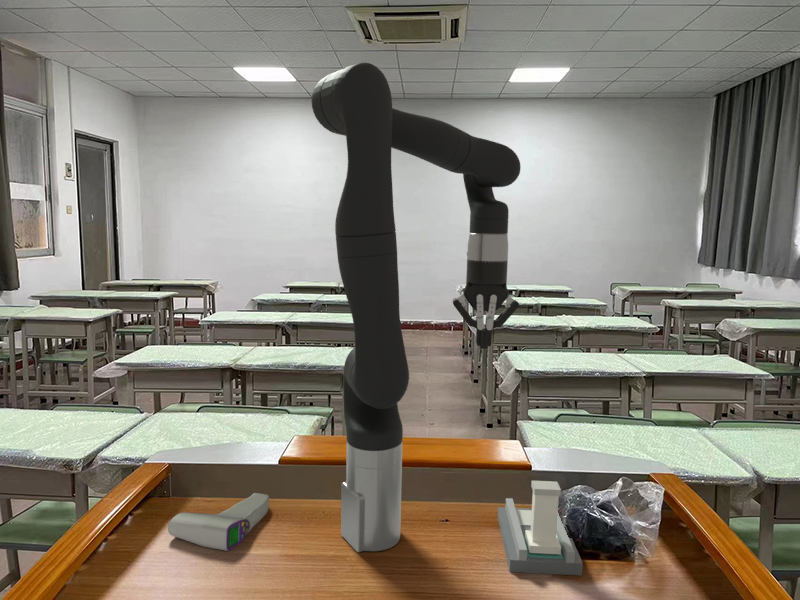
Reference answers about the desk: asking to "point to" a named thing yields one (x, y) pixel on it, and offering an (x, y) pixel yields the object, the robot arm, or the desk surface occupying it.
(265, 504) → the infrared thermometer
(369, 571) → the desk surface
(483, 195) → the robot arm
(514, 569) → the switch panel
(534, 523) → the switch tab
